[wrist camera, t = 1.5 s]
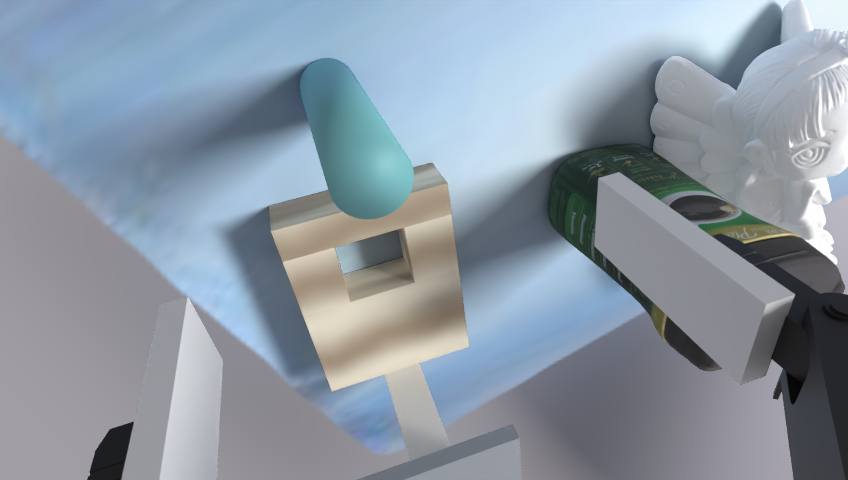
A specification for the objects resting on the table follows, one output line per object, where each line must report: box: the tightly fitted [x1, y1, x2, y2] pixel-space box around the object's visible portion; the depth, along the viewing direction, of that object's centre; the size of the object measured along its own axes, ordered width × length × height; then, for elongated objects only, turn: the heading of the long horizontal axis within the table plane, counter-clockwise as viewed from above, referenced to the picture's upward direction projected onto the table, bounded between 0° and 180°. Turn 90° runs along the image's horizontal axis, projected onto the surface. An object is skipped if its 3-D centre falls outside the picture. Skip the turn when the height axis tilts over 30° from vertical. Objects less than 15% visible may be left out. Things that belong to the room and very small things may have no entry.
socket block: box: [269, 163, 469, 391], centre depth 39 cm, size 16×12×4 cm
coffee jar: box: [548, 144, 845, 371], centre depth 35 cm, size 10×8×19 cm
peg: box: [299, 58, 414, 219], centre depth 27 cm, size 4×4×14 cm
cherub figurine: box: [650, 0, 848, 265], centre depth 39 cm, size 13×12×20 cm
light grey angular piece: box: [358, 363, 522, 480], centre depth 38 cm, size 7×10×16 cm
